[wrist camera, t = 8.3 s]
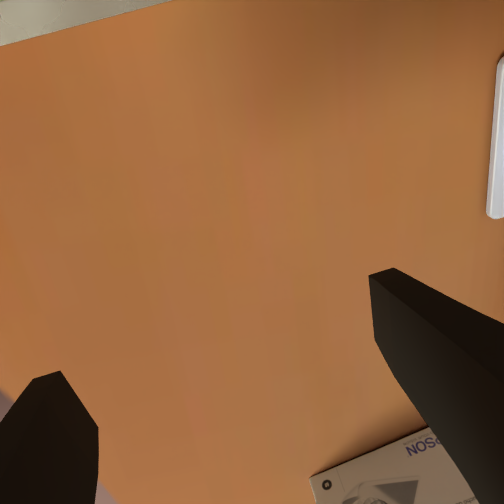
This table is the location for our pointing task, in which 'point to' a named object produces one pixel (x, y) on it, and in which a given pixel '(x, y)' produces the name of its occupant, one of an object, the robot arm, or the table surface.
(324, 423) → the table surface
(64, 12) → the grey tray holder
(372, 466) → the ink box
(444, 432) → the robot arm
